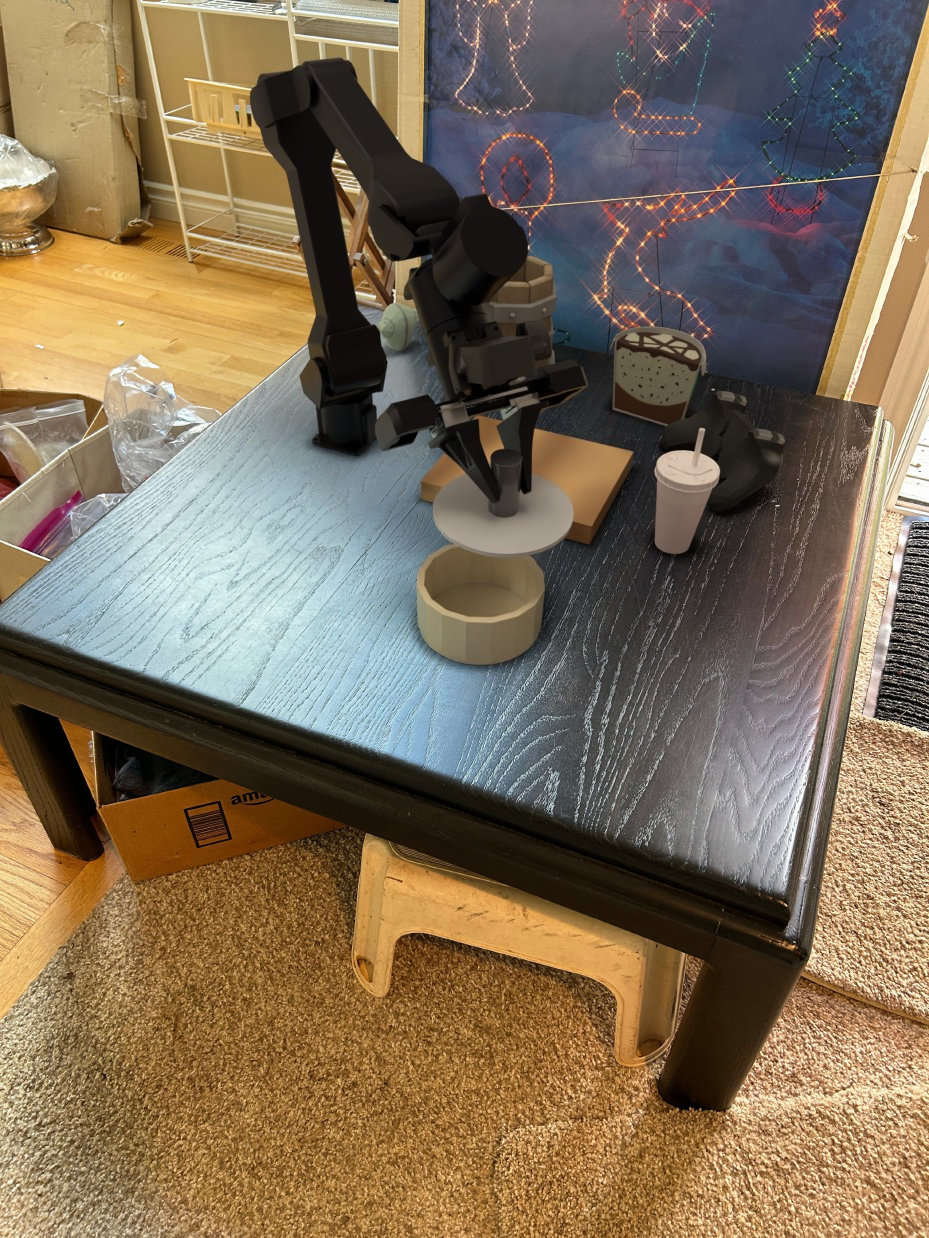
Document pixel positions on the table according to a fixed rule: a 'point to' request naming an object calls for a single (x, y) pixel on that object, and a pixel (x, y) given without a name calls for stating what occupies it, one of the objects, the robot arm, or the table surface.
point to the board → (555, 473)
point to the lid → (504, 512)
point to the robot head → (398, 325)
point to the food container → (655, 373)
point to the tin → (479, 605)
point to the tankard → (525, 302)
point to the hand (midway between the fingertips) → (512, 497)
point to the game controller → (729, 447)
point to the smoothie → (682, 495)
